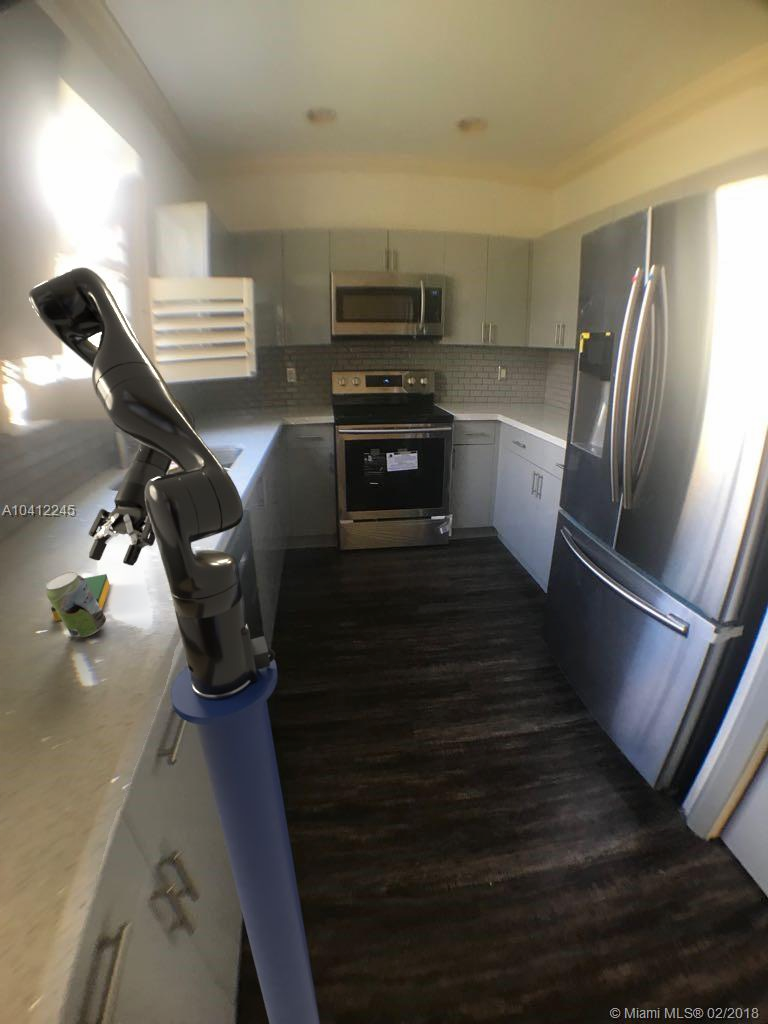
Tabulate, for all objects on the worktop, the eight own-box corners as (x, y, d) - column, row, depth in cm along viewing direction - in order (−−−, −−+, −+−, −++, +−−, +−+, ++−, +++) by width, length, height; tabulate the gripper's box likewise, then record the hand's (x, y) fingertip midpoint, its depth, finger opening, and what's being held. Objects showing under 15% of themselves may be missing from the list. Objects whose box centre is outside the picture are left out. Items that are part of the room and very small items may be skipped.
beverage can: (114, 627, 87) (97, 571, 83) (73, 648, 81) (52, 590, 77) (97, 617, 90) (80, 563, 86) (56, 637, 85) (36, 581, 80)
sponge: (109, 585, 102) (106, 573, 101) (101, 611, 92) (97, 598, 91) (68, 593, 99) (64, 581, 98) (55, 621, 89) (50, 608, 88)
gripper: (101, 478, 95) (67, 552, 89) (157, 482, 91) (125, 560, 85) (127, 493, 101) (97, 563, 95) (180, 498, 97) (153, 571, 91)
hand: (110, 561), depth 90 cm, fingers open, 8 cm apart
